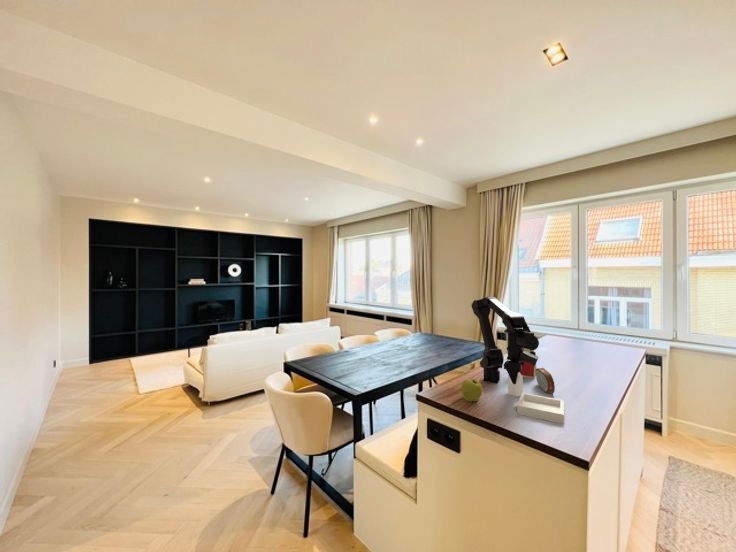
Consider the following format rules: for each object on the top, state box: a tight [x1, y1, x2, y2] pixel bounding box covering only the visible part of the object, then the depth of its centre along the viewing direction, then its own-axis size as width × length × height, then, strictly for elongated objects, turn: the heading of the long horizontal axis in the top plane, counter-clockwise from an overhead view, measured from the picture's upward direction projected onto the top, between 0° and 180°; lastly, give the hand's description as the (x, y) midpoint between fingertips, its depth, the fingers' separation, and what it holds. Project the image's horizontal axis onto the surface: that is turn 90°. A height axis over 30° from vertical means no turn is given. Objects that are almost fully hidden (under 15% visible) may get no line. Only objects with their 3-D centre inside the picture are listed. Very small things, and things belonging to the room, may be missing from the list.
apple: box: [461, 378, 483, 402], centre depth 121 cm, size 8×8×10 cm
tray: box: [516, 392, 565, 424], centre depth 110 cm, size 14×14×3 cm
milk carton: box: [520, 348, 537, 380], centre depth 152 cm, size 9×9×20 cm
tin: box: [535, 367, 556, 394], centre depth 131 cm, size 15×3×8 cm, turn 168°
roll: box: [507, 372, 524, 397], centre depth 127 cm, size 6×12×6 cm
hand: (515, 381), depth 127 cm, fingers closed on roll, 6 cm apart
